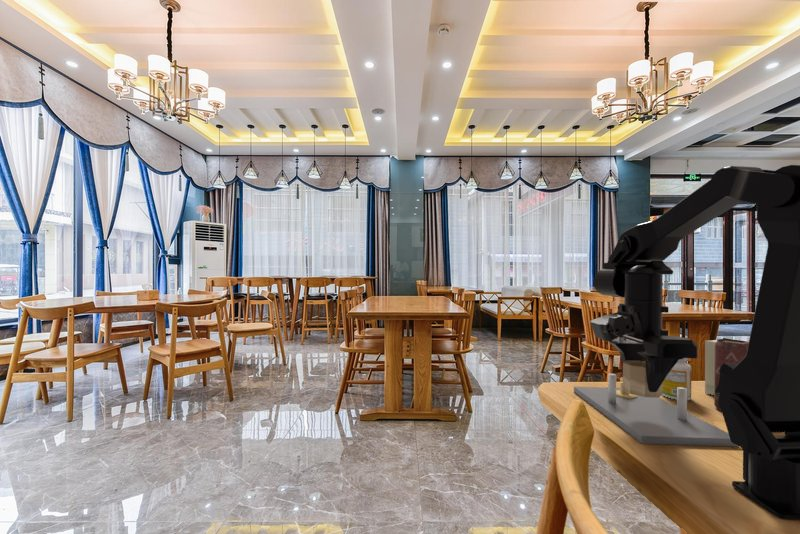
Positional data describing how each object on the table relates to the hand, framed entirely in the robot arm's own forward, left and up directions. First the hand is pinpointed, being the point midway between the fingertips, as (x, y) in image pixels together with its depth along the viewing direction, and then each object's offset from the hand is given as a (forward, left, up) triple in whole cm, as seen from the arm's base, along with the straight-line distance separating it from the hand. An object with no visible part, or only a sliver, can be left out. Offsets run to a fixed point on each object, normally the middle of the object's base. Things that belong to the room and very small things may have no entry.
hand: (642, 386), depth 66 cm
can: (+8, -23, -7) cm, 25 cm away
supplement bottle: (+16, -17, -7) cm, 24 cm away
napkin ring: (0, 0, -1) cm, 1 cm away
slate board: (+5, -3, -7) cm, 9 cm away
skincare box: (+18, -29, -7) cm, 35 cm away
